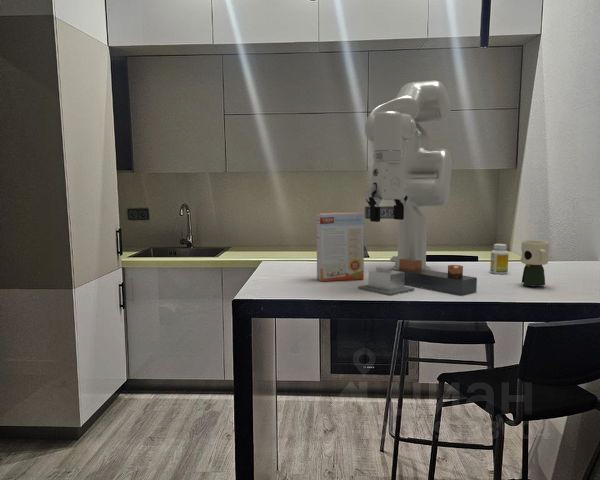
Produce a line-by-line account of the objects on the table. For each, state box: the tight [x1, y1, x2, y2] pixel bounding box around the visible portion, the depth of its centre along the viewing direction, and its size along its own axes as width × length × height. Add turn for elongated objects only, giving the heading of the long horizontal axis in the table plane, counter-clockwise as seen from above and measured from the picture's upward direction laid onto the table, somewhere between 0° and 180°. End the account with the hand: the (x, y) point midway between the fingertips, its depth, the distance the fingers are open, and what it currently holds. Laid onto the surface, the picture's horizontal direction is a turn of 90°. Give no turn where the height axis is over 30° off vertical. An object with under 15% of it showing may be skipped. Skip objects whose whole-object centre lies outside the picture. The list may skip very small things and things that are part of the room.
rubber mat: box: [357, 284, 415, 296], centre depth 140 cm, size 12×10×1 cm
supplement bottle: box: [489, 243, 509, 275], centre depth 165 cm, size 5×5×10 cm
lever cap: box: [368, 266, 405, 291], centre depth 140 cm, size 8×6×5 cm
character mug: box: [520, 239, 550, 288], centre depth 143 cm, size 11×7×13 cm, turn 2°
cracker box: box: [315, 211, 365, 282], centre depth 155 cm, size 14×6×21 cm, turn 101°
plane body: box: [391, 258, 478, 296], centre depth 143 cm, size 24×7×7 cm, turn 39°
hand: (387, 220), depth 138 cm, fingers open, 9 cm apart
